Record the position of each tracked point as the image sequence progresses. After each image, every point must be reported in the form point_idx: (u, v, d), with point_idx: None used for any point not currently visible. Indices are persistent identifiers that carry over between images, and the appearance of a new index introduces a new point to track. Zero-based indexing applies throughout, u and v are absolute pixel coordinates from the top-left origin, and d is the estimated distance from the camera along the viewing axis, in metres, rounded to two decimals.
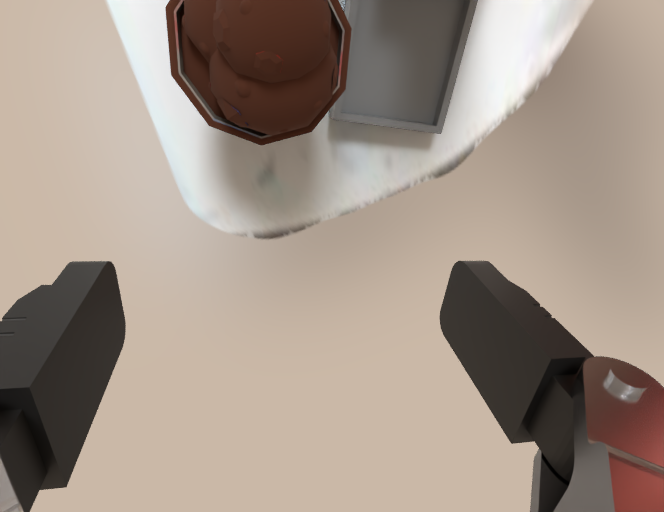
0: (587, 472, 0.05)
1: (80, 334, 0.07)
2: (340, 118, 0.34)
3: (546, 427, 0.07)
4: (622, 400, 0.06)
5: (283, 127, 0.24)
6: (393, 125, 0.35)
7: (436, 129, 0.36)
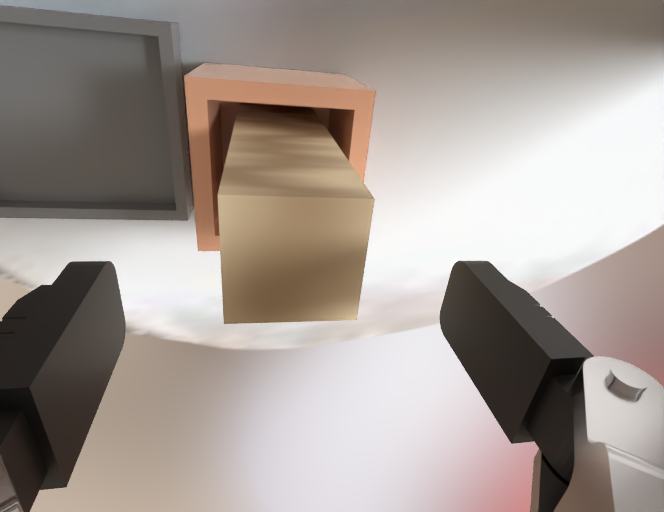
0: (587, 472, 0.05)
1: (79, 334, 0.07)
2: None
3: (546, 427, 0.07)
4: (622, 400, 0.06)
5: None
6: None
7: None
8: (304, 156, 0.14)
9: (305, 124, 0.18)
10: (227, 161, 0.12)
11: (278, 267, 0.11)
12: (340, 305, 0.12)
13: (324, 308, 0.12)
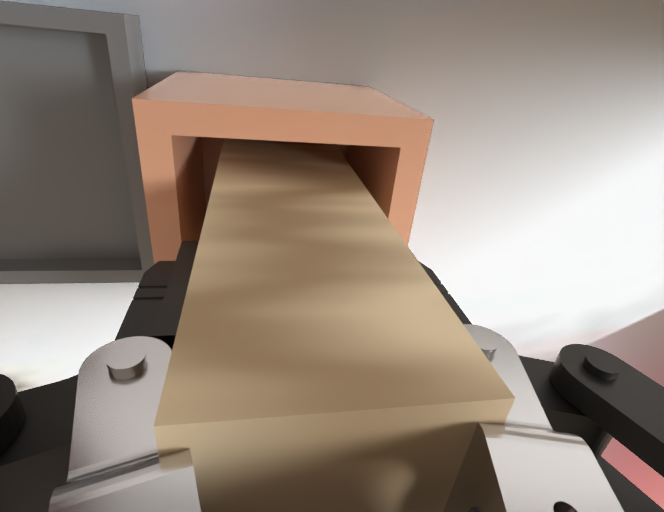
0: (468, 452, 0.05)
1: None
2: None
3: None
4: None
5: None
6: None
7: None
8: (335, 244, 0.08)
9: (322, 164, 0.12)
10: (194, 273, 0.06)
11: None
12: None
13: None
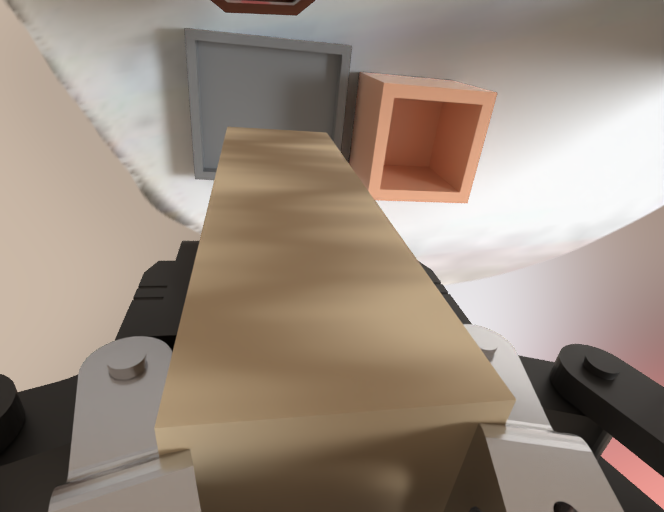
0: (468, 452, 0.05)
1: None
2: (187, 39, 0.26)
3: None
4: None
5: None
6: (193, 116, 0.28)
7: (199, 172, 0.30)
8: (335, 245, 0.08)
9: (323, 165, 0.12)
10: (195, 274, 0.06)
11: None
12: None
13: None
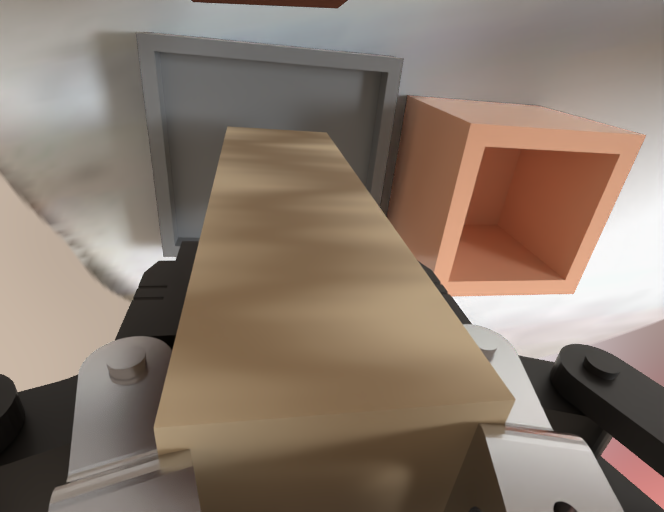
0: (468, 452, 0.05)
1: None
2: (142, 51, 0.16)
3: None
4: None
5: None
6: (156, 168, 0.18)
7: (169, 247, 0.20)
8: (335, 245, 0.08)
9: (323, 165, 0.12)
10: (194, 274, 0.06)
11: None
12: None
13: None
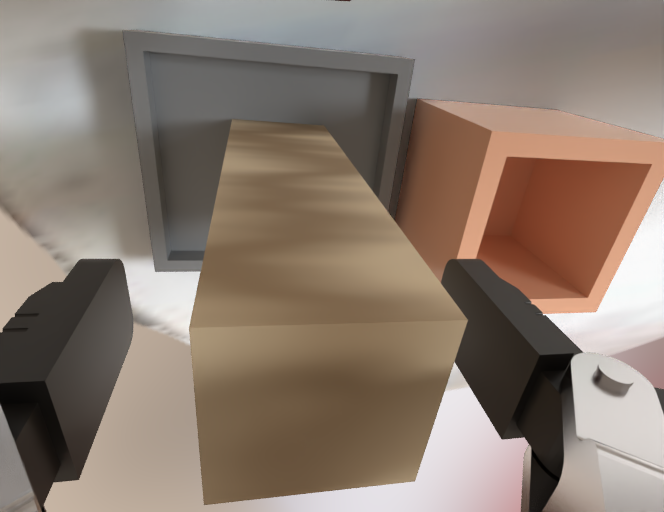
0: (577, 469, 0.05)
1: (91, 330, 0.07)
2: (129, 50, 0.15)
3: (535, 422, 0.07)
4: (608, 395, 0.06)
5: None
6: (146, 177, 0.17)
7: (161, 261, 0.19)
8: (329, 214, 0.09)
9: (320, 152, 0.14)
10: (211, 232, 0.08)
11: (297, 425, 0.07)
12: (392, 466, 0.08)
13: (366, 472, 0.08)
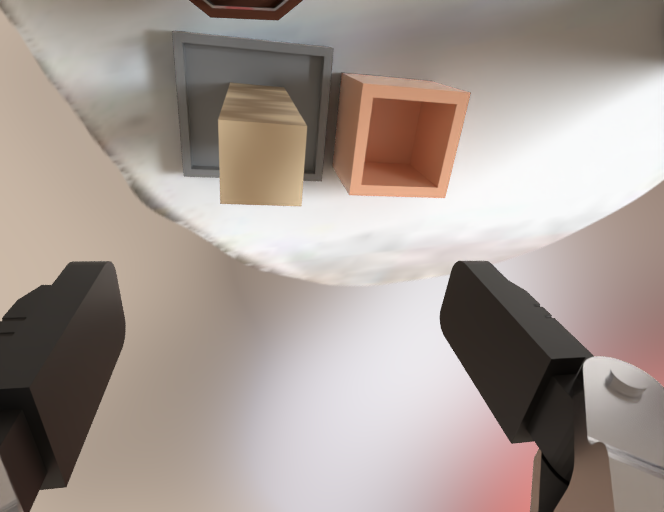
0: (587, 472, 0.05)
1: (79, 334, 0.07)
2: (175, 42, 0.27)
3: (546, 427, 0.07)
4: (622, 400, 0.06)
5: None
6: (181, 115, 0.29)
7: (187, 169, 0.31)
8: (271, 108, 0.22)
9: (276, 95, 0.26)
10: (222, 108, 0.20)
11: (252, 167, 0.19)
12: (290, 195, 0.20)
13: (280, 197, 0.20)
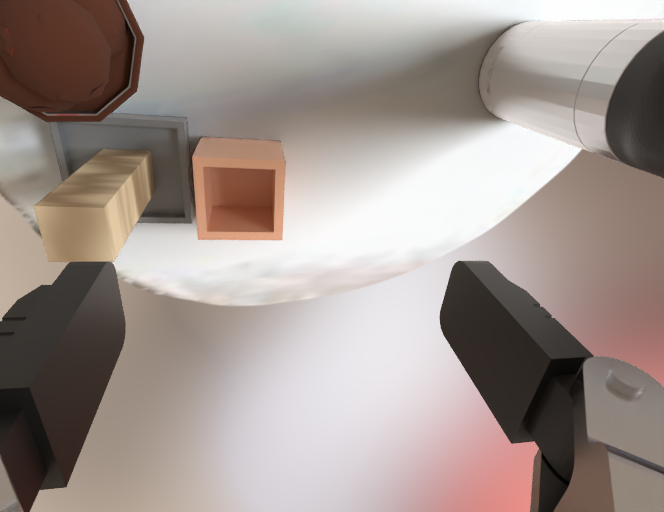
0: (587, 472, 0.05)
1: (79, 334, 0.07)
2: None
3: (546, 427, 0.07)
4: (622, 400, 0.06)
5: None
6: (63, 175, 0.37)
7: None
8: (98, 186, 0.29)
9: (127, 165, 0.34)
10: (54, 190, 0.28)
11: (67, 236, 0.26)
12: (102, 254, 0.27)
13: (95, 256, 0.27)
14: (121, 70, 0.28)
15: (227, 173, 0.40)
